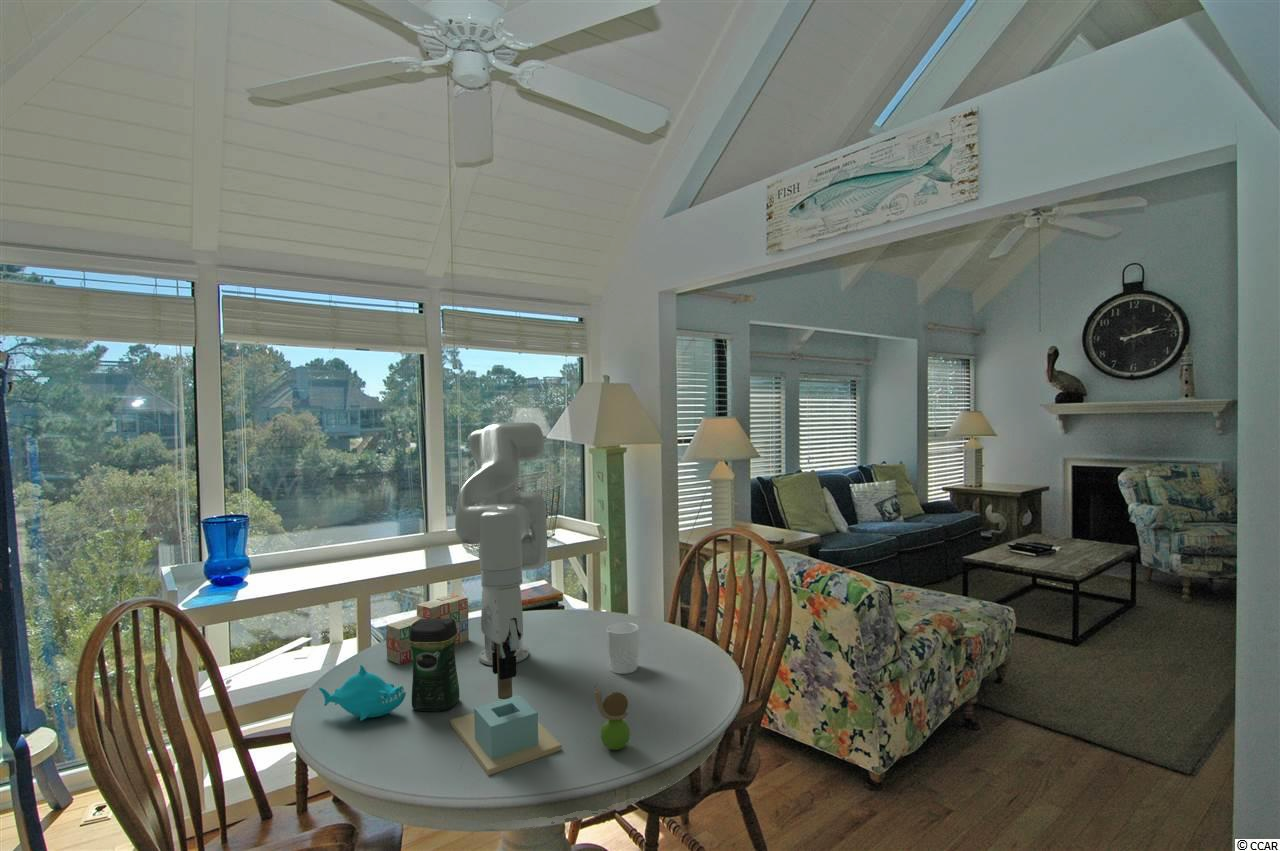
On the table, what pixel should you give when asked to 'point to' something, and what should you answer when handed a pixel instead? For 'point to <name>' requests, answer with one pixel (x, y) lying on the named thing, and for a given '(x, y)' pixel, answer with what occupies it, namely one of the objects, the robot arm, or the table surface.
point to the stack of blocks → (432, 609)
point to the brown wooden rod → (505, 684)
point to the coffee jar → (434, 664)
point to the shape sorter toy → (505, 734)
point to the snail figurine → (613, 719)
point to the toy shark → (366, 695)
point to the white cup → (623, 647)
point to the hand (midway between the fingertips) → (504, 674)
